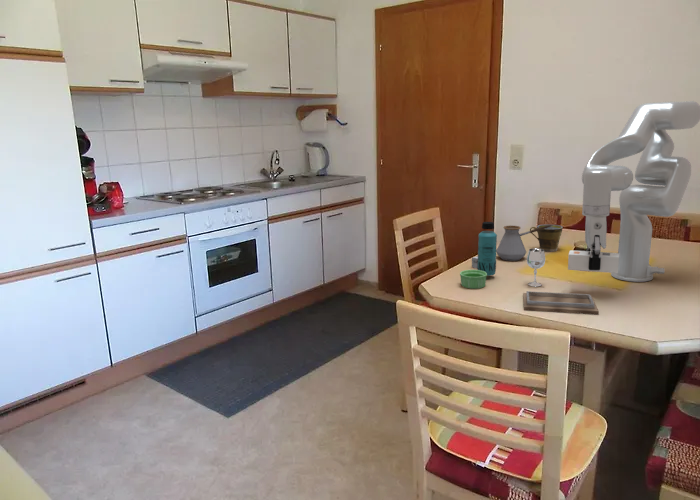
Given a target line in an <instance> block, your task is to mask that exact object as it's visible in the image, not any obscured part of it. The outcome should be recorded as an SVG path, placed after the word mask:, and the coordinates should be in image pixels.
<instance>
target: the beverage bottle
mask: <svg viewBox="0 0 700 500" xmlns="http://www.w3.org/2000/svg"><path fill="white" fill-rule="evenodd" d="M481 229H482V231H481V232H480V233H478V244H477V245H478V246H477V247H478V248H477V256H476V257H478V258H477V264H478V267H477V268H478V269H477V270H481V271H484V272H486V273H487V276H486V277H489V276H494V275H495V274H496V271H497V257H498V256H497V252H496V250H497V242H498V241H497V238H498V235H497V234H496V233H495V231H493V229H495V223H494V222H493V221H483V222H482V224H481Z"/></svg>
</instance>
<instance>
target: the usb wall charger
mask: <svg viewBox="0 0 700 500" xmlns="http://www.w3.org/2000/svg"><path fill="white" fill-rule="evenodd" d="M477 258H478V257H477V256H473V257H471V267H472V268H474V269H475V270H478V268H477V267H478V264H477Z"/></svg>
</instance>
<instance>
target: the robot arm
mask: <svg viewBox="0 0 700 500" xmlns="http://www.w3.org/2000/svg"><path fill="white" fill-rule="evenodd" d="M699 122H700V104H699V103H698V102H697V101H694V100H689V101H657V102H645V103H641V104H639V105H638V106H636V107H635V109H634V110H633V112H632V113H631V115H630V117H629V118H628V120H627V122H626V124H625V125H624V127H623V129H622V130H621V132H620V133H619V135H618V136H617V137H616V138H614V139H613V140H610V141H608V142H607V143H606V144H604V145H602V146H601V147H600V148H598V149H597V150H596V151H594V153H592V155H591V156H590V157H589V160H588V162H586V164H585V166H584V168H583V171H582V173H581V182H582V184H583V191H582V192H583V193H582V208H581V209H582V211H581V212H582V213H581V215H582V216H585V226H584V228H585V231H584V241H585V244H586V251H590V257H589V270H600V263H601V252H602V251H601V249H606V248H607V229H608V228H607V227H608V226H607V217H608V216H610V210H611V199H612V198H611V196H612V192H615V191H616V192H619V191H620V193H619V197H618V200H619V201H618V202H619V210H620V211H619V212H620V226H619V237H618V250H617V251H618V252H617V253H619V264H618V273H610V275H611V276H612V277H613V278H614V279H617V280H621V281H626V282H635V283H639V282H640V283H641V282H643V283H644V282H649V281H651V280H653V278H654V274H660V275H664V274H665V267H659V266H651V265H650V255H651V245H652V235H653V226H652V222H651V219H650V218H649V216H655V217H665V218H666V217H667V218H668V217H672V216H674V215H675V214H676V213H677V211H678V210H679V208H680V205H681V203H682V201H683V199H684V195H685V192H686V190H687V187H688V185H689V182H690V179H691V175H692V165H691V162H690V160H689V159H688V158H686V157H683V156H672V154H673V152H674V148H675V142H674V141H673V139H672V137H671V136H670V134H669V133H668V132H667V131H668V130H669V131H673V130H675V131H677V130H687V129H693V128H694V127H696V126H697V125H698V124H699ZM640 153H641V156H640V158H639V160H638V163H637V166H636V168H635V173H633V171H632V169H631V168H629V167H628V166H623V165H611V163H613V162H615V161H618V160H621V159H625V158H628V157H631V156H635V155H637V154H640ZM609 164H610V165H609ZM634 178H635V180H636V182H638V184H633V180H634ZM639 183H640V184H639Z"/></svg>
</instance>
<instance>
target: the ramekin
mask: <svg viewBox="0 0 700 500" xmlns="http://www.w3.org/2000/svg"><path fill="white" fill-rule="evenodd" d="M459 276H460V283H461V286H462V287H463V288H465V289H471V290H473V289H474V290H477V289H482V288H485V287H486V284H487V282H486V281H487V277H488V276H487V273H486V272H484V271H481V270H478V269H466V270H461V271H460V272H459Z"/></svg>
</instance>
